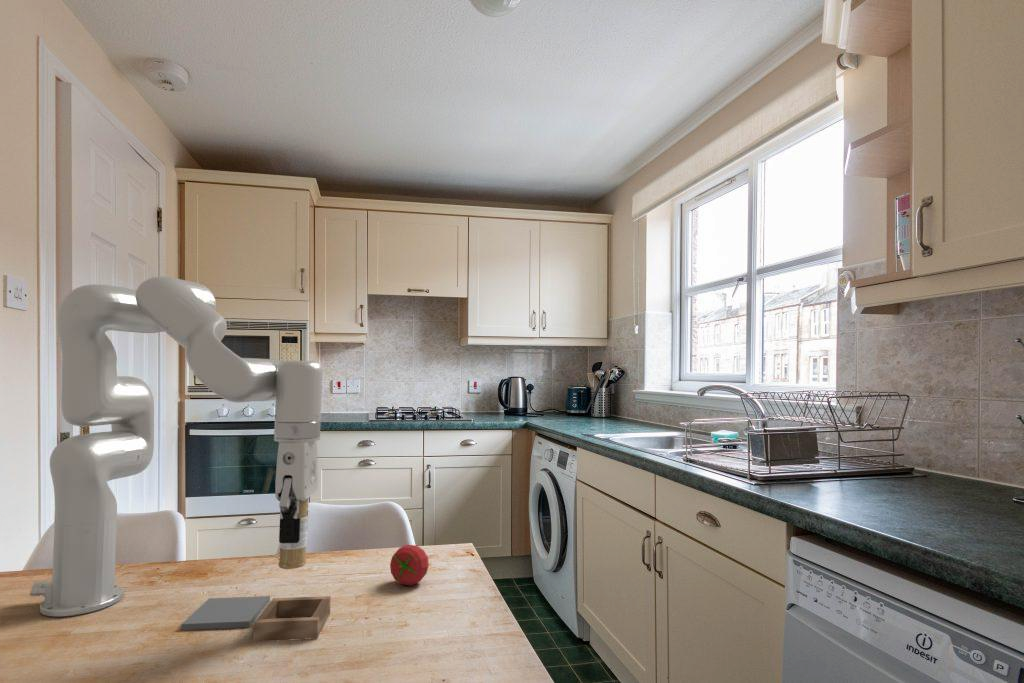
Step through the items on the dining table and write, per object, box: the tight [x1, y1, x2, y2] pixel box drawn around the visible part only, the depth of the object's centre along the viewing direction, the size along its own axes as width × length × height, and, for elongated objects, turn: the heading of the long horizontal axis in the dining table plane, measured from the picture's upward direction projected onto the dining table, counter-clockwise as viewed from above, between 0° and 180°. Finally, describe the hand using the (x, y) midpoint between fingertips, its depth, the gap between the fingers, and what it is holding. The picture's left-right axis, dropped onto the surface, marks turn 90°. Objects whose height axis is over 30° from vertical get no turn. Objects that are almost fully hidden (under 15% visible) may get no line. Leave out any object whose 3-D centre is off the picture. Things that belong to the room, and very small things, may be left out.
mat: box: [180, 595, 271, 631], centre depth 103 cm, size 11×11×1 cm
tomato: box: [389, 544, 430, 586], centre depth 118 cm, size 8×8×8 cm
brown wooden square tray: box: [253, 595, 332, 643], centre depth 98 cm, size 10×10×3 cm
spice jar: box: [277, 489, 309, 570], centre depth 99 cm, size 5×5×14 cm
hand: (293, 536), depth 99 cm, fingers closed on spice jar, 4 cm apart
